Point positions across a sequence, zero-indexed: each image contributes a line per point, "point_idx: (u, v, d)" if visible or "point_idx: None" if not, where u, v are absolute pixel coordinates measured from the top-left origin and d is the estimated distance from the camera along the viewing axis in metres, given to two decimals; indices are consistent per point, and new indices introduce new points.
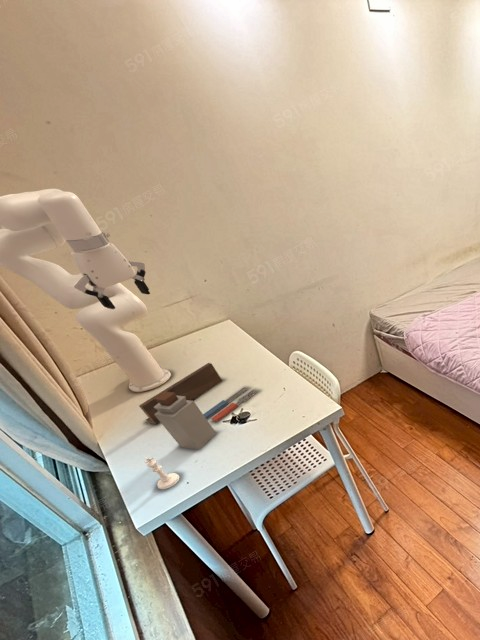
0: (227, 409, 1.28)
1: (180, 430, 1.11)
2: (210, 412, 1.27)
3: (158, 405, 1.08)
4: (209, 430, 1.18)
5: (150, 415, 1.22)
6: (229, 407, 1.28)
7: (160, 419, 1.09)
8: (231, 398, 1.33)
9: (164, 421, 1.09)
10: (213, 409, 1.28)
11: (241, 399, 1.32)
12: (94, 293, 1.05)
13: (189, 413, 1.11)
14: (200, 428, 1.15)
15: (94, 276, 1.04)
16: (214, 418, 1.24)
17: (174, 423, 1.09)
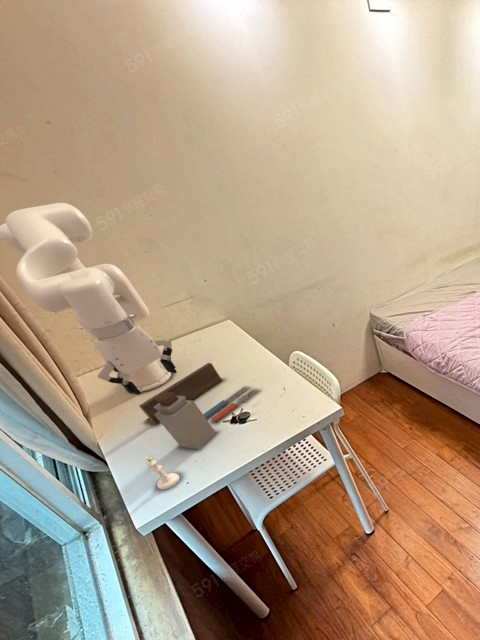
0: (227, 409, 1.28)
1: (180, 430, 1.11)
2: (210, 412, 1.27)
3: (158, 405, 1.08)
4: (209, 430, 1.18)
5: (150, 415, 1.22)
6: (229, 407, 1.28)
7: (160, 419, 1.09)
8: (231, 398, 1.33)
9: (164, 421, 1.09)
10: (213, 409, 1.28)
11: (241, 399, 1.32)
12: (119, 381, 0.96)
13: (189, 413, 1.11)
14: (200, 428, 1.15)
15: (119, 363, 0.95)
16: (214, 418, 1.24)
17: (174, 423, 1.09)
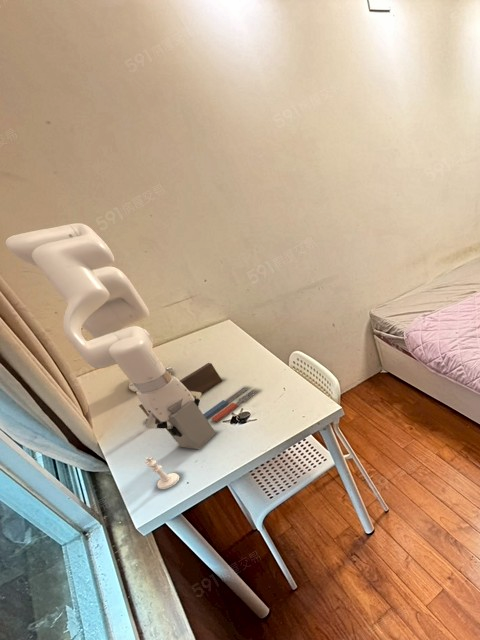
0: (227, 409, 1.28)
1: (180, 430, 1.11)
2: (210, 412, 1.27)
3: None
4: (209, 430, 1.18)
5: None
6: (229, 407, 1.28)
7: None
8: (231, 398, 1.33)
9: None
10: (213, 409, 1.28)
11: (241, 399, 1.32)
12: (164, 427, 1.08)
13: (189, 413, 1.11)
14: (200, 428, 1.15)
15: (158, 412, 1.05)
16: (214, 418, 1.24)
17: (174, 423, 1.09)
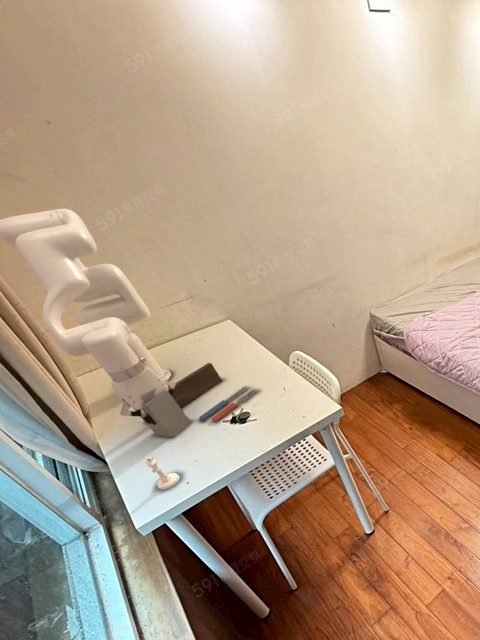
0: (227, 409, 1.28)
1: (154, 418, 1.15)
2: (210, 412, 1.27)
3: None
4: (183, 419, 1.22)
5: None
6: (229, 407, 1.28)
7: None
8: (231, 398, 1.33)
9: None
10: (213, 409, 1.28)
11: (241, 399, 1.32)
12: (138, 415, 1.13)
13: (162, 402, 1.16)
14: (174, 416, 1.19)
15: (132, 401, 1.09)
16: (214, 418, 1.24)
17: (148, 411, 1.13)
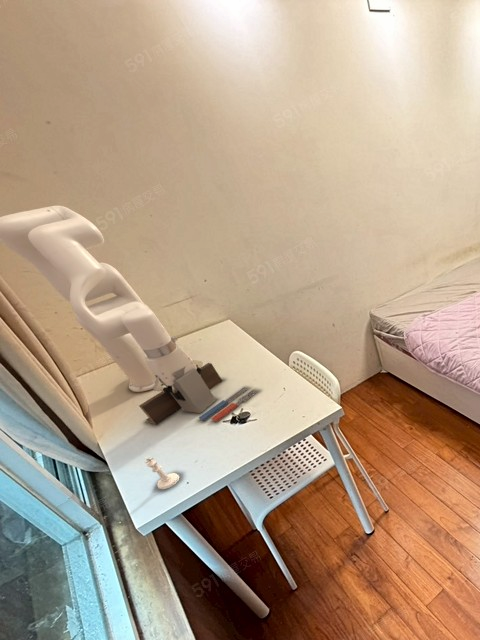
0: (227, 409, 1.28)
1: (183, 394, 1.23)
2: (210, 412, 1.27)
3: None
4: (209, 396, 1.31)
5: (150, 415, 1.22)
6: (229, 407, 1.28)
7: None
8: (231, 398, 1.33)
9: None
10: (213, 409, 1.28)
11: (241, 399, 1.32)
12: (169, 391, 1.21)
13: (191, 380, 1.24)
14: (201, 394, 1.28)
15: (164, 377, 1.18)
16: (214, 418, 1.24)
17: (178, 388, 1.22)
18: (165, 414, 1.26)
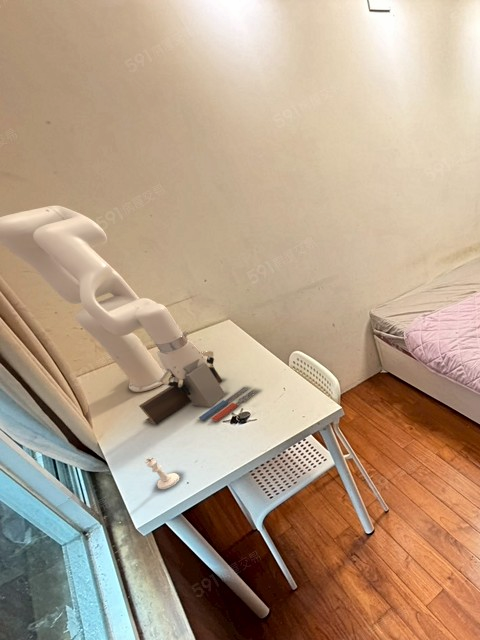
0: (227, 409, 1.28)
1: (194, 388, 1.26)
2: (210, 412, 1.27)
3: None
4: (219, 391, 1.33)
5: (150, 415, 1.22)
6: (229, 407, 1.28)
7: None
8: (231, 398, 1.33)
9: None
10: (213, 409, 1.28)
11: (241, 399, 1.32)
12: (175, 384, 1.22)
13: (202, 374, 1.26)
14: (211, 388, 1.30)
15: (176, 371, 1.20)
16: (214, 418, 1.24)
17: (189, 382, 1.24)
18: (165, 414, 1.26)
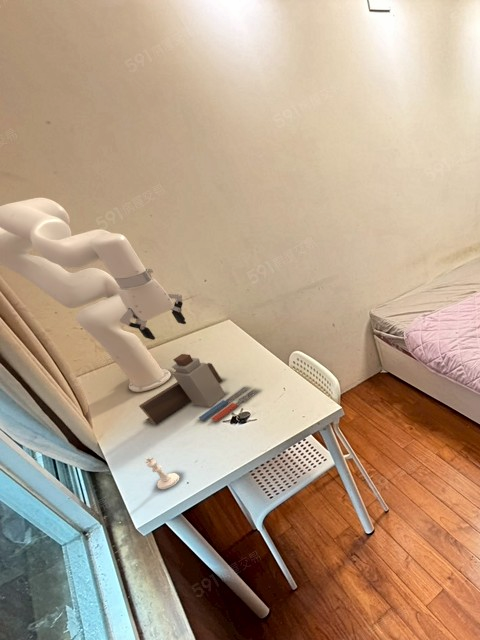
0: (227, 409, 1.28)
1: (194, 388, 1.26)
2: (210, 412, 1.27)
3: (175, 365, 1.23)
4: (219, 391, 1.33)
5: (150, 415, 1.22)
6: (229, 407, 1.28)
7: (177, 378, 1.24)
8: (231, 398, 1.33)
9: (180, 380, 1.25)
10: (213, 409, 1.28)
11: (241, 399, 1.32)
12: (137, 326, 1.12)
13: (202, 374, 1.26)
14: (211, 388, 1.30)
15: (138, 310, 1.10)
16: (214, 418, 1.24)
17: (189, 382, 1.24)
18: (165, 414, 1.26)
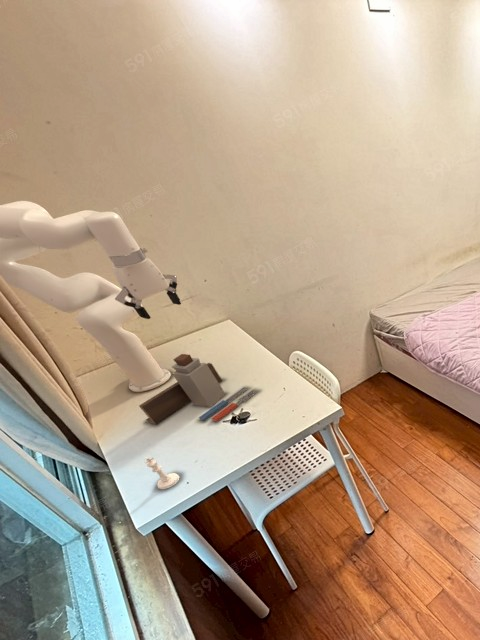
0: (227, 409, 1.28)
1: (194, 388, 1.26)
2: (210, 412, 1.27)
3: (175, 365, 1.23)
4: (219, 391, 1.33)
5: (150, 415, 1.22)
6: (229, 407, 1.28)
7: (177, 378, 1.24)
8: (231, 398, 1.33)
9: (180, 380, 1.25)
10: (213, 409, 1.28)
11: (241, 399, 1.32)
12: (132, 304, 1.14)
13: (202, 374, 1.26)
14: (211, 388, 1.30)
15: (133, 289, 1.12)
16: (214, 418, 1.24)
17: (189, 382, 1.24)
18: (165, 414, 1.26)
